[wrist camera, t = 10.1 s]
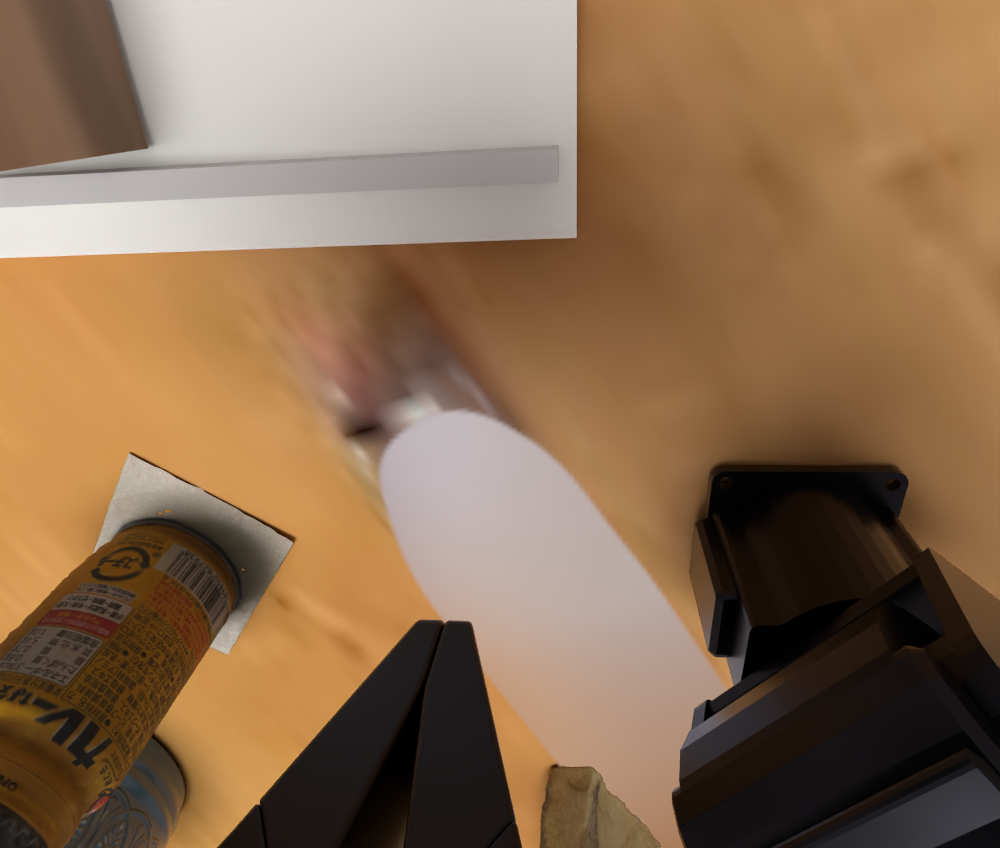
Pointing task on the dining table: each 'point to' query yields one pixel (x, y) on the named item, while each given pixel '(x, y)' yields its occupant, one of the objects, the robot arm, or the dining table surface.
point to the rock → (588, 814)
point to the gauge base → (321, 130)
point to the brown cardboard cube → (62, 85)
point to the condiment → (120, 647)
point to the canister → (137, 806)
